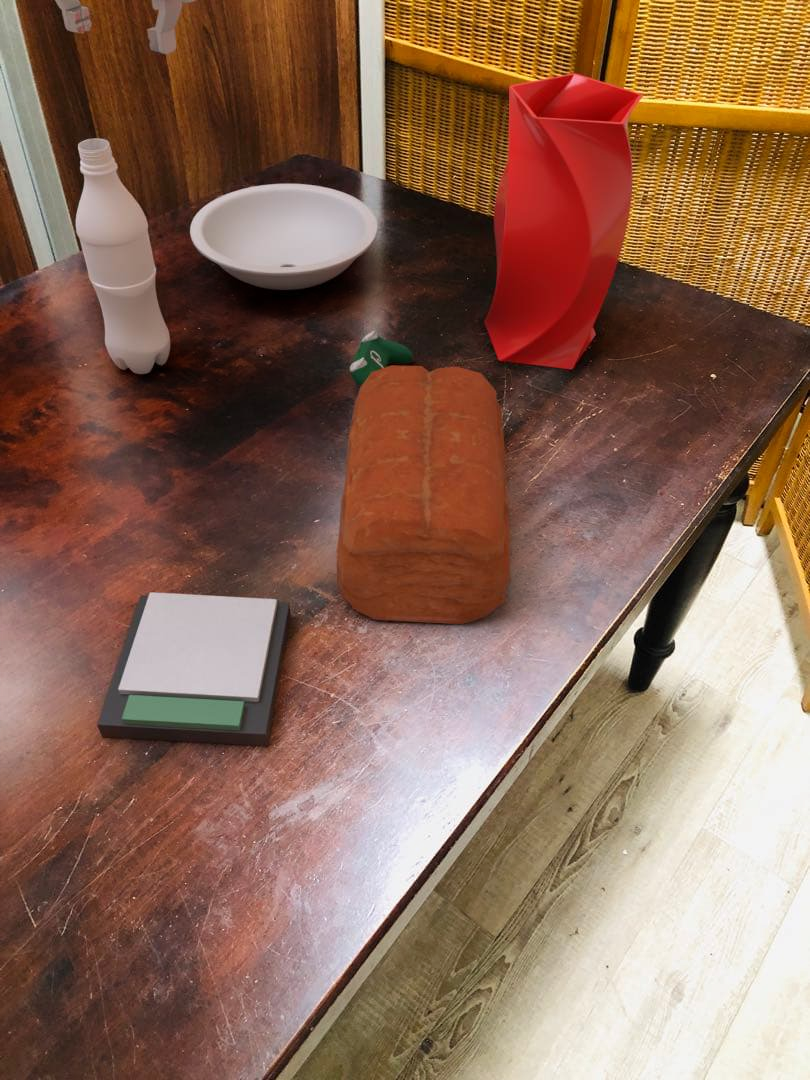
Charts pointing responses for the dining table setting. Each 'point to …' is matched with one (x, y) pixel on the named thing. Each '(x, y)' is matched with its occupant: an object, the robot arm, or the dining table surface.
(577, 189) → the vase
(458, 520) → the bread
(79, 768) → the dining table surface
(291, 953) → the dining table surface
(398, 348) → the gaming controller
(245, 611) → the kitchen scale
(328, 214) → the soup bowl
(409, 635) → the dining table surface
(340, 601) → the dining table surface
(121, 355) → the water bottle
